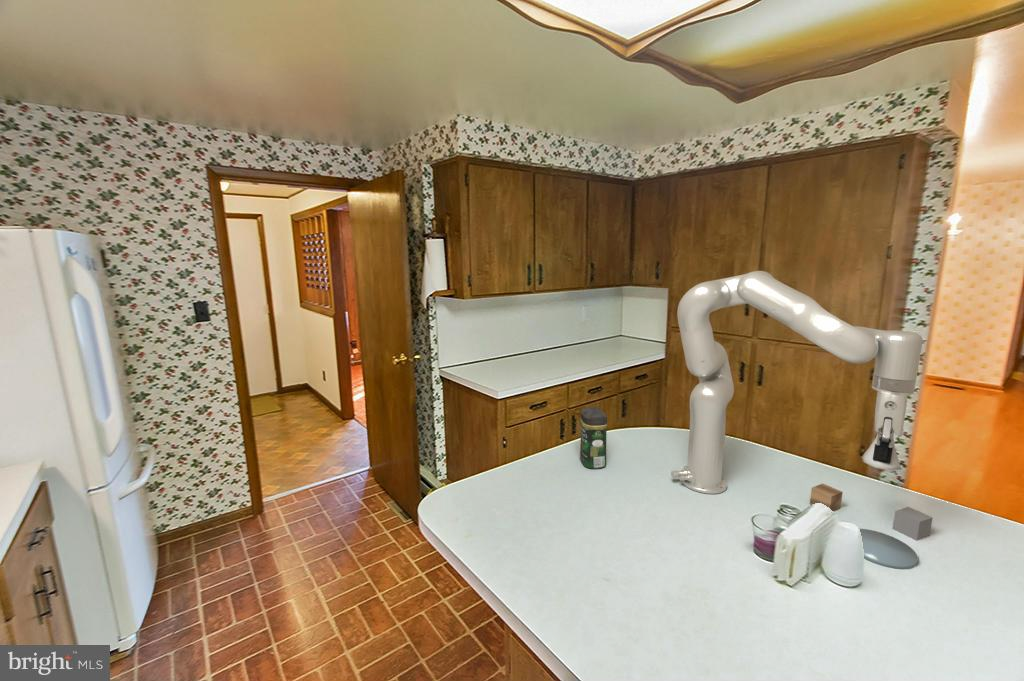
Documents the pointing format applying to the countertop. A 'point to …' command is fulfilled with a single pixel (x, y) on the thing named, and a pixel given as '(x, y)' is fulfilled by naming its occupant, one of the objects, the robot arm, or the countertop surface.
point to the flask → (892, 466)
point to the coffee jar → (593, 438)
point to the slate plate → (887, 550)
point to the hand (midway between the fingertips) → (881, 456)
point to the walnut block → (826, 496)
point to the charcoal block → (912, 523)
